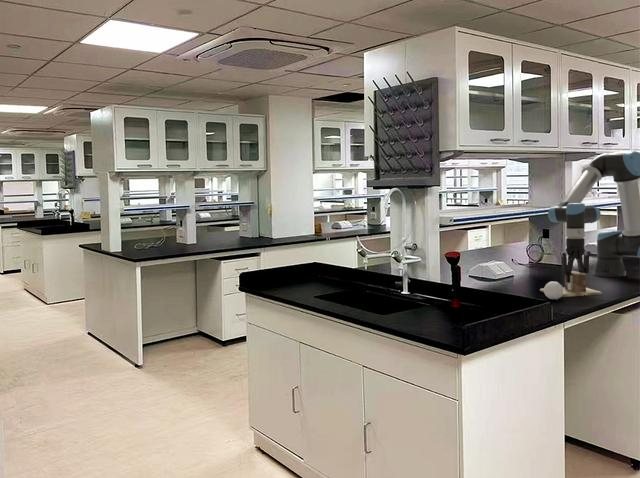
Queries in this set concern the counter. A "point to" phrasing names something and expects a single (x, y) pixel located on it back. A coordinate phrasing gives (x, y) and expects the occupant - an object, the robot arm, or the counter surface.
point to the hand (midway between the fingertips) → (575, 289)
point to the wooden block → (577, 281)
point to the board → (572, 293)
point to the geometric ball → (553, 290)
